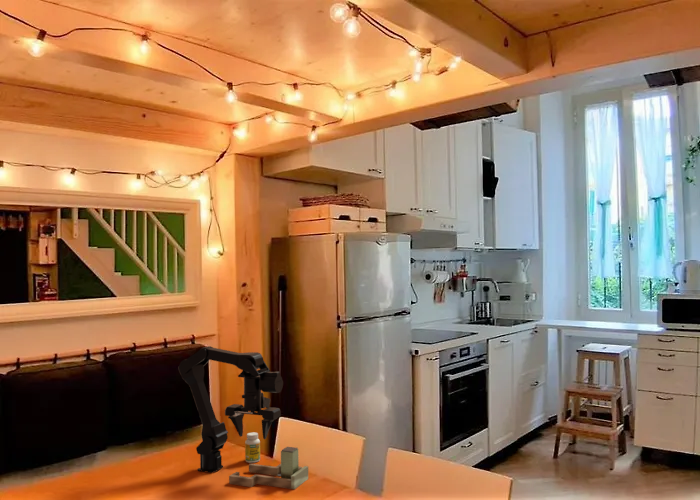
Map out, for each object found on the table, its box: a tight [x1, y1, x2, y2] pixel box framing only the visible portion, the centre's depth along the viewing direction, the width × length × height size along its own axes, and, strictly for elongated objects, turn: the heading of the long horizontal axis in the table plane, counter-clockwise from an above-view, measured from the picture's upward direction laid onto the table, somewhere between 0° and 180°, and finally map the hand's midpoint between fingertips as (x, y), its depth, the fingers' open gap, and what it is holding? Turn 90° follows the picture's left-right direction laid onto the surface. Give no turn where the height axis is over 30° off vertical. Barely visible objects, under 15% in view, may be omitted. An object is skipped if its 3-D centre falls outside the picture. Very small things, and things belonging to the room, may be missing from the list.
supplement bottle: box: [244, 431, 261, 464], centre depth 210 cm, size 5×5×10 cm
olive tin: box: [280, 446, 300, 479], centre depth 188 cm, size 4×4×10 cm
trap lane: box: [228, 463, 309, 490], centre depth 191 cm, size 22×16×4 cm
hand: (252, 437), depth 195 cm, fingers open, 9 cm apart
